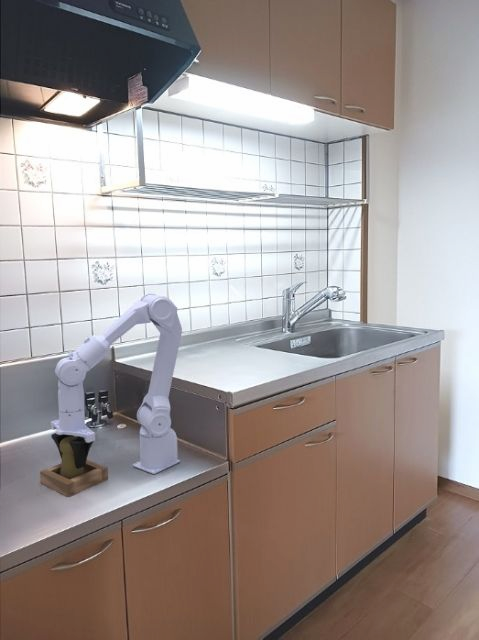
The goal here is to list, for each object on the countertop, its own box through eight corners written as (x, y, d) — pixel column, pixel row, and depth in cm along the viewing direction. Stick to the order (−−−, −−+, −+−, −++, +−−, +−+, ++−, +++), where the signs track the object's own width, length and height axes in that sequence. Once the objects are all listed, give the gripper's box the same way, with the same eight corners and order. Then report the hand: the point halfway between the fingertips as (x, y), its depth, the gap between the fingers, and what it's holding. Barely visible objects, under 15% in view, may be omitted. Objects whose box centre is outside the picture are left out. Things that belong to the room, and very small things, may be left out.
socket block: (80, 467, 127) (79, 456, 127) (107, 479, 120) (107, 467, 120) (40, 483, 118) (40, 471, 118) (68, 497, 112) (67, 484, 111)
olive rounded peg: (62, 490, 115) (60, 444, 113) (56, 480, 120) (54, 436, 118) (88, 484, 118) (87, 439, 116) (82, 474, 123) (80, 431, 122)
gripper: (38, 407, 118) (41, 461, 120) (75, 419, 109) (77, 478, 111) (64, 400, 124) (66, 452, 125) (101, 411, 115) (103, 467, 117)
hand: (73, 463), depth 119 cm, fingers closed on olive rounded peg, 5 cm apart
